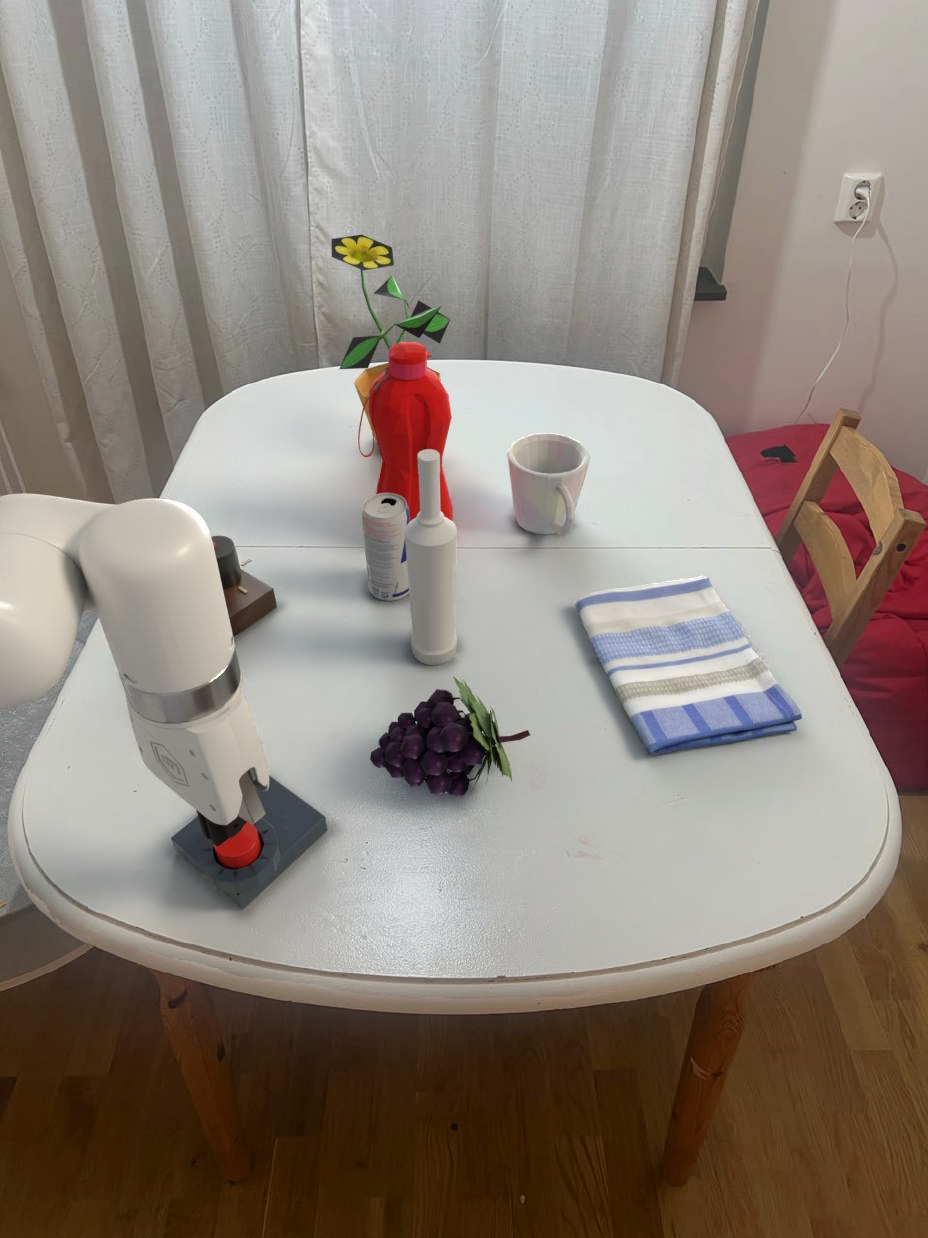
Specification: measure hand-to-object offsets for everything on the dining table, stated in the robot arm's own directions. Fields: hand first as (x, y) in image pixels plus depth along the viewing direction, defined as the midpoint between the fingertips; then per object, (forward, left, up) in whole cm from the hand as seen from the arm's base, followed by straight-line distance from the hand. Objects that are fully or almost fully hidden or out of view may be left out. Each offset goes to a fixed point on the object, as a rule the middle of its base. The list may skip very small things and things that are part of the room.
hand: (226, 829), depth 70 cm
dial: (+23, +30, -4) cm, 38 cm away
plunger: (0, 0, -3) cm, 3 cm away
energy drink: (+37, +16, -7) cm, 41 cm away
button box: (+3, +2, -7) cm, 8 cm away
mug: (+59, +8, -7) cm, 60 cm away
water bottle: (+47, +22, -7) cm, 52 cm away
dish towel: (+47, -18, -7) cm, 51 cm away
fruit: (+20, -7, -7) cm, 22 cm away
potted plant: (+63, +37, -7) cm, 73 cm away
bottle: (+32, +5, -7) cm, 33 cm away
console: (+21, +29, -7) cm, 36 cm away
